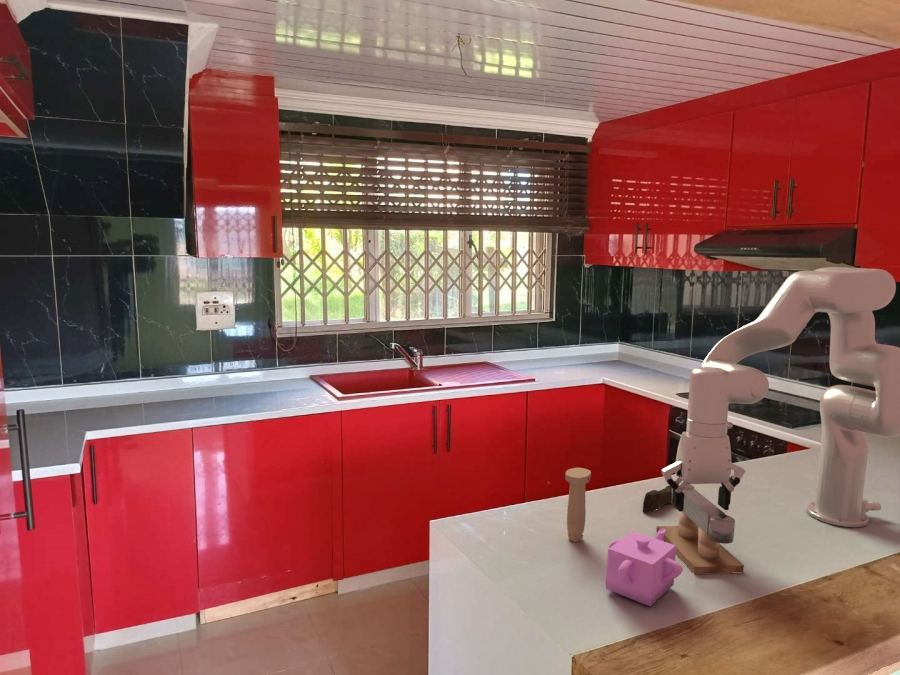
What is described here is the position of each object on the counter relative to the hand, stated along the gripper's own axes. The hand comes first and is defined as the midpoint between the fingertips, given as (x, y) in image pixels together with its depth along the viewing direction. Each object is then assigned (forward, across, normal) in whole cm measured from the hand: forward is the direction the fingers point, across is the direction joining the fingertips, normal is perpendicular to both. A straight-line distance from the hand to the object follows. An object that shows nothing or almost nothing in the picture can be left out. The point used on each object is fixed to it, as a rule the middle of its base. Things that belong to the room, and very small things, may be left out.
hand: (700, 508), depth 131 cm
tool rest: (+10, 0, 0) cm, 10 cm away
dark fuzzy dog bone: (+10, -4, -25) cm, 27 cm away
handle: (+10, +24, -7) cm, 27 cm away
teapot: (+10, +17, +14) cm, 24 cm away
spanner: (+2, 0, 0) cm, 3 cm away
